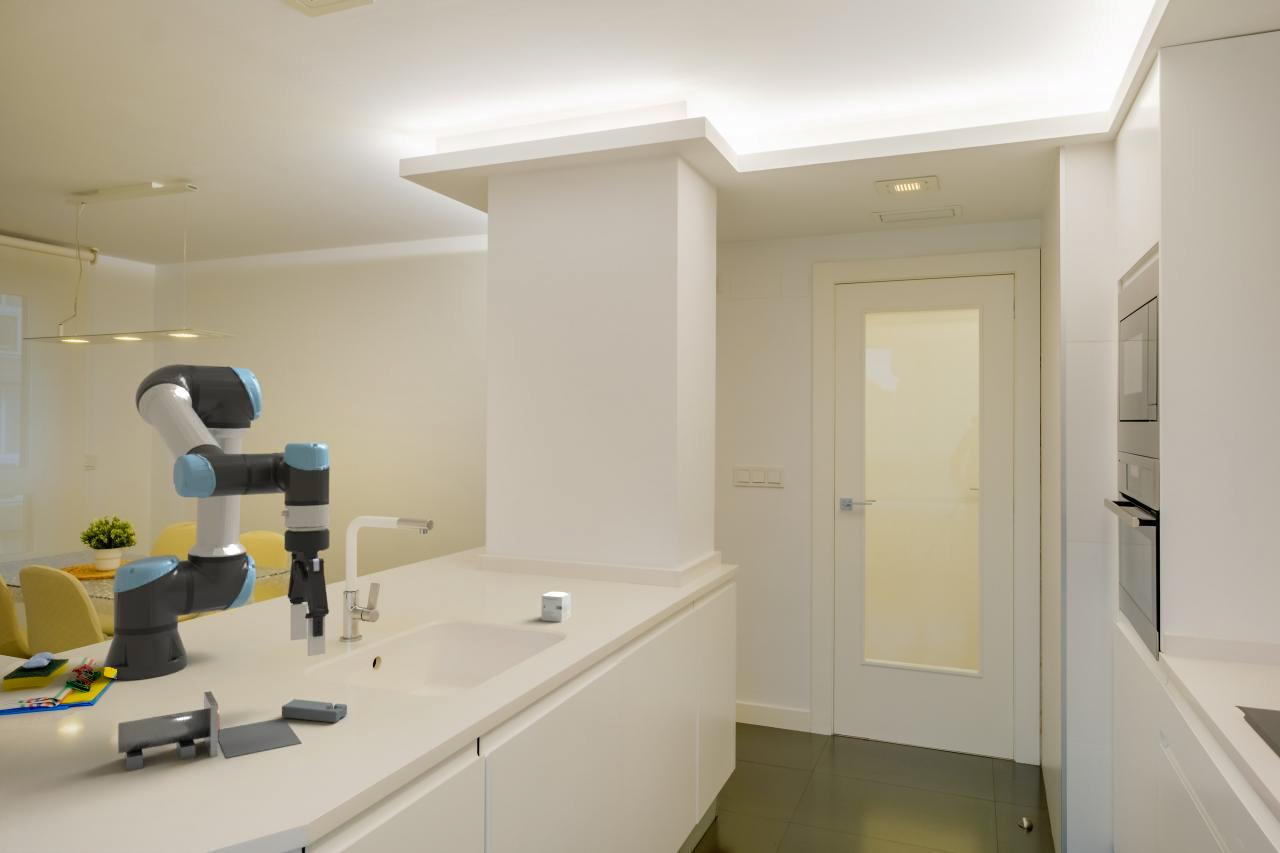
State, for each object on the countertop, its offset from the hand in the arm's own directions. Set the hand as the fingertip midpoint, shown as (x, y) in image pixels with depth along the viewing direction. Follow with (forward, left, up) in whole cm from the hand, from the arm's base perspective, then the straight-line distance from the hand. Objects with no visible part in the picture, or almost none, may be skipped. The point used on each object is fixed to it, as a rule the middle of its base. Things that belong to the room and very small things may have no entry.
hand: (307, 646), depth 150 cm
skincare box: (-39, +72, -12) cm, 83 cm away
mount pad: (+8, -10, -12) cm, 17 cm away
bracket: (-1, -1, -13) cm, 13 cm away
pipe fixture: (+9, -23, -12) cm, 27 cm away
